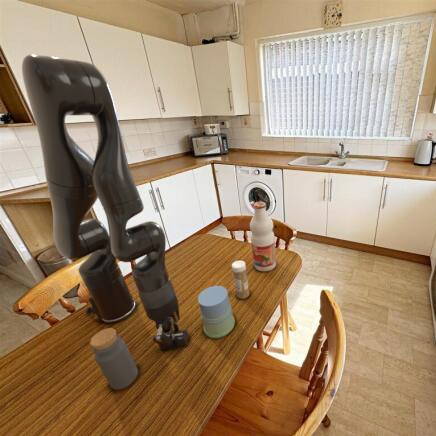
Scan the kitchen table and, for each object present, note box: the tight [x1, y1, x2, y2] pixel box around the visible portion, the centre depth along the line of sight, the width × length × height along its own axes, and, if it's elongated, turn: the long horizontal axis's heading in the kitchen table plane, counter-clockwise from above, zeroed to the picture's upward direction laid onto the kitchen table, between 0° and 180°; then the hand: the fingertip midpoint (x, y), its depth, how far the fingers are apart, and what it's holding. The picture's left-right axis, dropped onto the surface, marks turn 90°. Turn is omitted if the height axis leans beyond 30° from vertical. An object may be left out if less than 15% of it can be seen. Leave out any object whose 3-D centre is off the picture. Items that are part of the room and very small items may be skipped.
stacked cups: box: [197, 285, 236, 339], centre depth 71 cm, size 9×9×12 cm
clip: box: [158, 329, 190, 350], centre depth 68 cm, size 7×3×3 cm, turn 99°
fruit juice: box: [249, 201, 277, 272], centre depth 95 cm, size 9×9×28 cm
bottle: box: [89, 327, 139, 391], centre depth 57 cm, size 6×6×15 cm
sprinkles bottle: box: [231, 260, 250, 300], centre depth 82 cm, size 5×5×13 cm
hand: (174, 342), depth 68 cm, fingers closed on clip, 3 cm apart
